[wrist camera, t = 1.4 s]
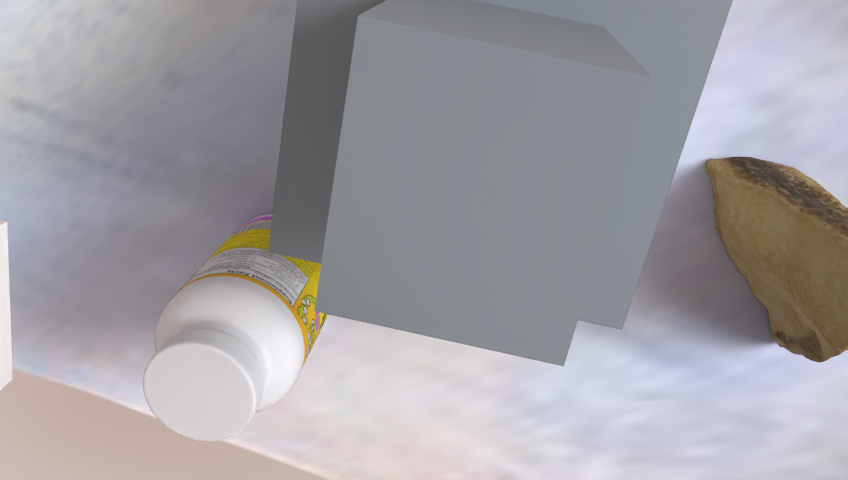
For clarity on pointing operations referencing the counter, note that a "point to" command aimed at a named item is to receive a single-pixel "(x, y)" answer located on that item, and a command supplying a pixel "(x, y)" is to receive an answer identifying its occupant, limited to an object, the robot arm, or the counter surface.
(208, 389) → the supplement bottle
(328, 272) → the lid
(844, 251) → the rock
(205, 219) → the counter surface
